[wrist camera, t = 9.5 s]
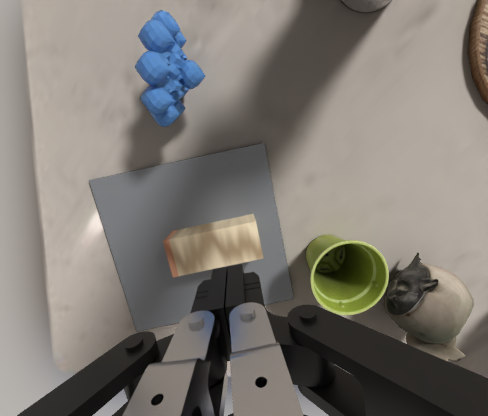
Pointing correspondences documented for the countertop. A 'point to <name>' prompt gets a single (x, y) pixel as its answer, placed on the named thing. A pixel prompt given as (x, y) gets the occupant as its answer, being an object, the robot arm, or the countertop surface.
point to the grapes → (165, 68)
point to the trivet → (479, 48)
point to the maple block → (213, 245)
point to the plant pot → (346, 274)
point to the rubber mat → (183, 216)
